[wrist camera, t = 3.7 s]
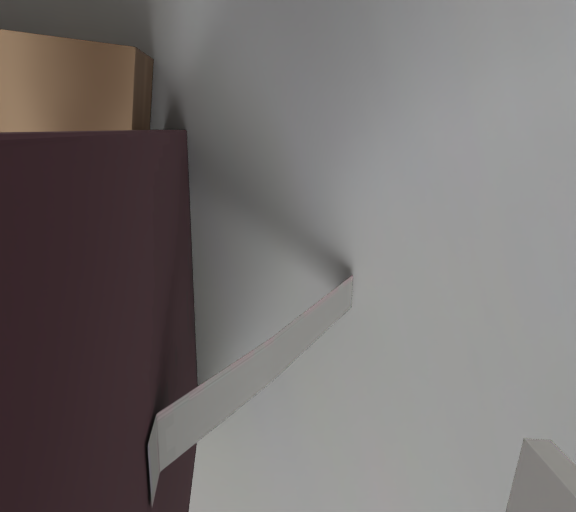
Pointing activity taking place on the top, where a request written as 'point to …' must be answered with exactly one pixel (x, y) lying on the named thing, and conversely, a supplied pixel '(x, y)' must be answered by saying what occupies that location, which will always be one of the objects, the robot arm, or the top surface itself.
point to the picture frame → (111, 325)
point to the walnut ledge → (72, 85)
